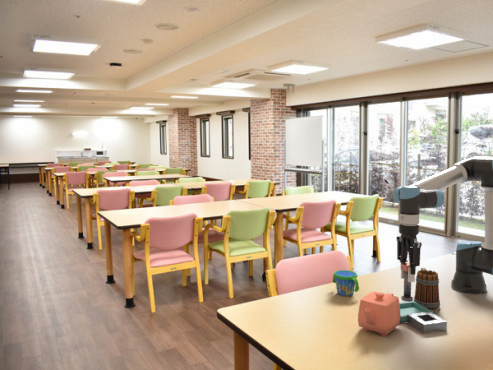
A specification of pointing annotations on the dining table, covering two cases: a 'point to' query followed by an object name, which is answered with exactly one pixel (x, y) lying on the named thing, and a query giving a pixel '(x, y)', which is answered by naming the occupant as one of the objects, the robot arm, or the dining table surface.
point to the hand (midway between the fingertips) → (407, 279)
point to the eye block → (426, 322)
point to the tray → (411, 310)
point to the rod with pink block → (406, 283)
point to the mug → (427, 289)
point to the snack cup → (345, 282)
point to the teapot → (379, 312)
